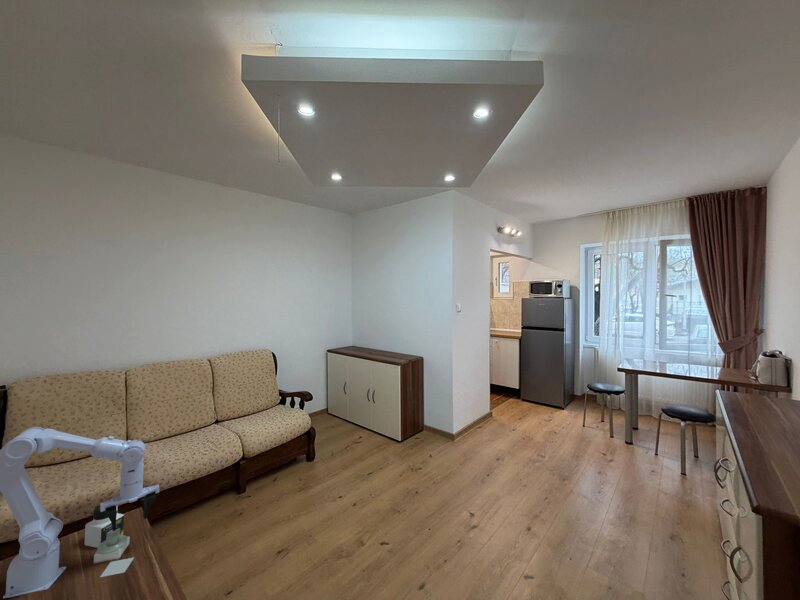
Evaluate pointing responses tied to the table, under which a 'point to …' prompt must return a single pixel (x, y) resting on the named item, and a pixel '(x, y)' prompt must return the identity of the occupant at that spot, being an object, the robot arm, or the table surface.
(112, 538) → the lid
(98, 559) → the dish
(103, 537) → the medicine bottle
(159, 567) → the table surface
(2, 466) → the robot arm
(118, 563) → the mat
